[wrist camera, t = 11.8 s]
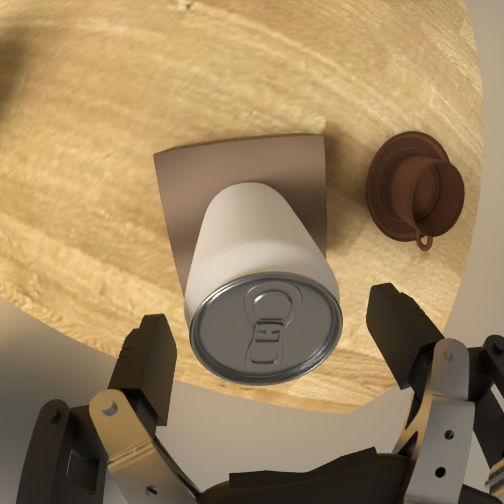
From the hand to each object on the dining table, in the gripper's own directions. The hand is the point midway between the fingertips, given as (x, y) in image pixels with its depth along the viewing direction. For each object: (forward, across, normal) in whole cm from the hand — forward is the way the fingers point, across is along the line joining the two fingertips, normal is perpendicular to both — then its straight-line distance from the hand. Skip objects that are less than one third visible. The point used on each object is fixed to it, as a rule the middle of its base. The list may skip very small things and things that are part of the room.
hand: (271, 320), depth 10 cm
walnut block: (+17, 0, 0) cm, 17 cm away
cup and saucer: (+18, -17, 0) cm, 25 cm away
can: (+11, 0, 0) cm, 11 cm away
